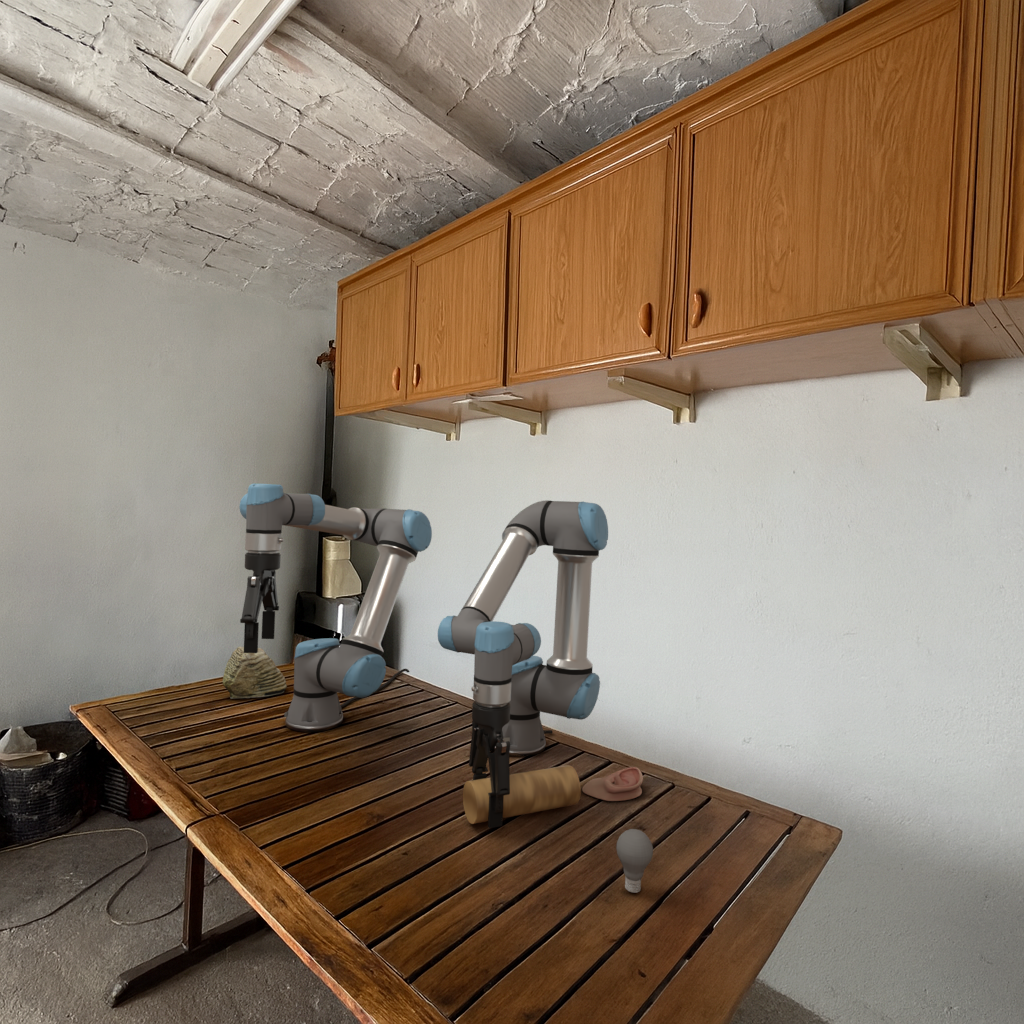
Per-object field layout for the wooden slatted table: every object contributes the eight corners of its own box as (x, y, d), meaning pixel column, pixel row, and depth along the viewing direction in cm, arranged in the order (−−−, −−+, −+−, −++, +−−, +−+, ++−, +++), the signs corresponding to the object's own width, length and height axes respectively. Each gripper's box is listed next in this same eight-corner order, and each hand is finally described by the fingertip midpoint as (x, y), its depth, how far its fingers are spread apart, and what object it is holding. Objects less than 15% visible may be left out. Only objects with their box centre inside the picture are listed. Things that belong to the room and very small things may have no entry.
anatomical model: (581, 779, 138) (585, 758, 149) (580, 797, 138) (585, 775, 149) (643, 787, 135) (643, 766, 147) (642, 806, 136) (642, 783, 147)
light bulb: (610, 879, 108) (613, 822, 108) (644, 879, 109) (647, 822, 109) (619, 902, 102) (622, 840, 102) (655, 901, 103) (658, 840, 103)
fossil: (218, 695, 195) (220, 647, 195) (278, 685, 208) (279, 640, 207) (228, 703, 189) (230, 653, 188) (289, 692, 201) (290, 645, 201)
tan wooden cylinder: (561, 794, 137) (563, 759, 137) (579, 811, 130) (581, 774, 130) (462, 812, 127) (463, 774, 127) (476, 831, 120) (477, 791, 120)
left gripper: (264, 557, 131) (261, 659, 131) (293, 548, 156) (289, 633, 156) (227, 556, 130) (223, 659, 131) (261, 546, 155) (258, 633, 155)
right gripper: (455, 688, 133) (451, 796, 133) (494, 721, 114) (489, 846, 115) (488, 685, 136) (484, 790, 136) (532, 716, 117) (526, 838, 118)
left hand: (259, 645), depth 143 cm, fingers open, 13 cm apart
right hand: (486, 815), depth 125 cm, fingers closed on tan wooden cylinder, 8 cm apart
